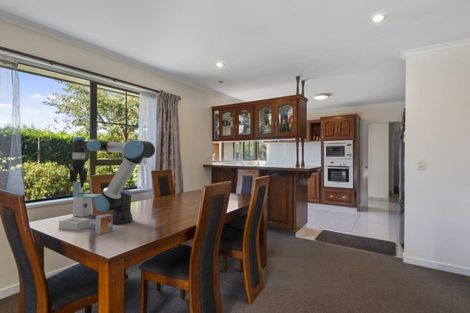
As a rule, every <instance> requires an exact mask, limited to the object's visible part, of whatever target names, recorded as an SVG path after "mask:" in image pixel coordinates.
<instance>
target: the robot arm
mask: <svg viewBox="0 0 470 313" xmlns="http://www.w3.org/2000/svg"><path fill="white" fill-rule="evenodd" d="M86 151H91V152H92V151H93V152H109V153H121V154H123V155H122V156H123V159H122V162H121V163H120V165H119V167H118V169H117V170H116V172H115V174H114V176H113V177H112V179H111V181H110V183H109V184H108V186H107V187H105V188H104V189H103V190H102V191H101V193H100V194H101V195H97V196H96V197H95V198H93V199H94V200H93V205H94V208H95V210H96V211H98V212H100V213H107V212H110V211H112V213H111V215H113V225H125V224H129V223H132V222H133V221H134V217H133V215H132V214H133V213H132V210H131V208H132V206H131V205H132V191H131V190H129V189H124V187H125V186H126V184H127V183H128V180H129V178H131V175H132V173H133V172H134V171H135V168H136V167H137V166H138V165H140V164H141V163H142V161H143V160H144V159H149V158H152V157H153V156H154V155H155V152H156V147H155V145H154V143H152V142H151V141H145V140H138V139H131V140H128V141H126V142H122V141H121V142H120V141H109V140H107V141H106V140H98V139H87V138H86V137H85V136H73V137H72V161H71V165H72V167H69V168H68V170H69V182H71V183H72V188H73V182H76V181H78V178H79V181H80V182H79V193H80V192H84V187H85V183H86V182H88V181H87V180H88V170H89V168H88V167H86V166H85V164H86ZM78 176H79V177H78Z"/></svg>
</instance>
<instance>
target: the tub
mask: <svg viewBox="0 0 470 313" xmlns="http://www.w3.org/2000/svg"><path fill="white" fill-rule="evenodd" d="M90 219H91V218H84V217H75V216H73V217H70V218H69V217H68V218H65V219H61V220H59V221H58V230H63V231H64V230H66V231H75V232H78V231H82V230H84V229H87V228H90V227H91V225H90Z"/></svg>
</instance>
